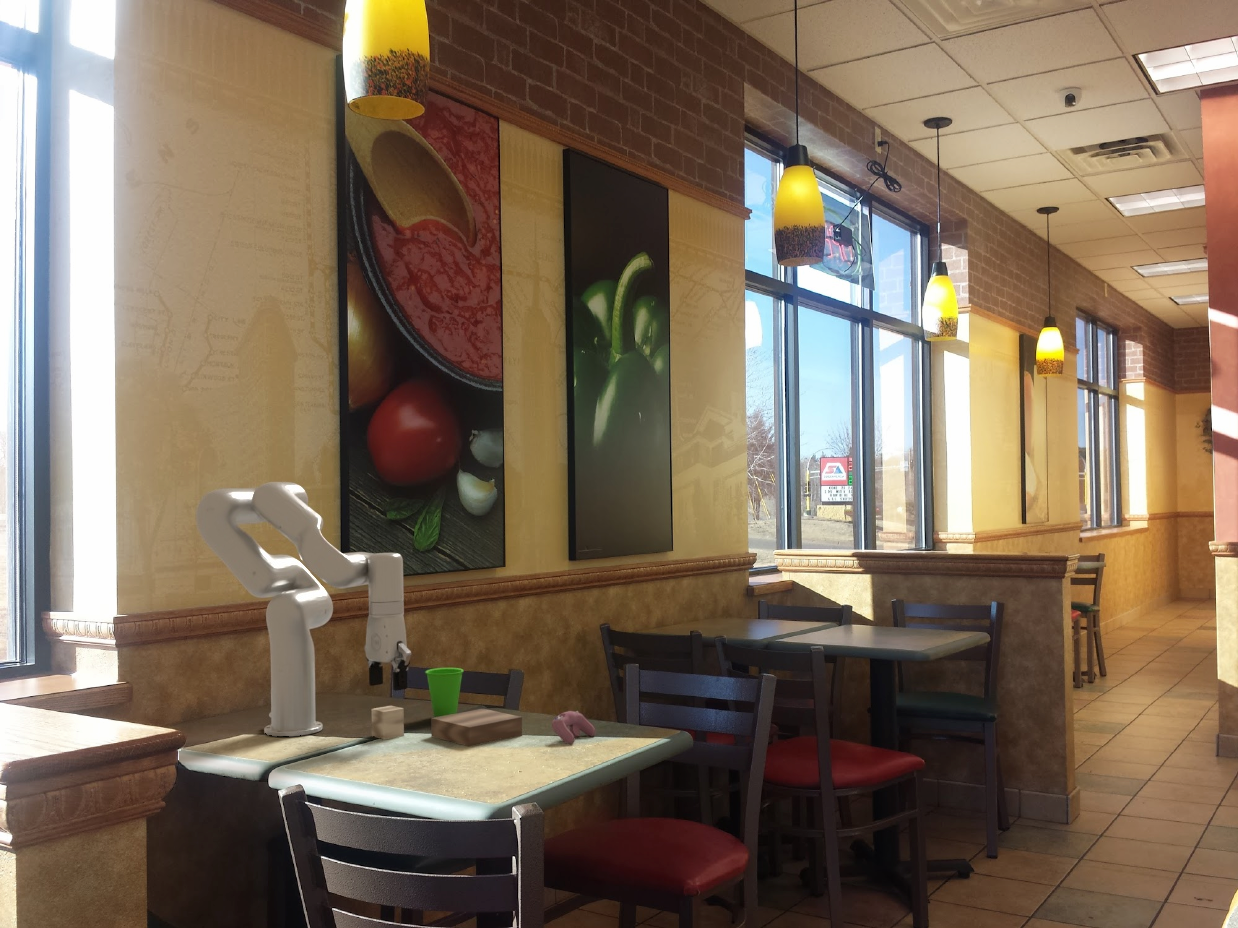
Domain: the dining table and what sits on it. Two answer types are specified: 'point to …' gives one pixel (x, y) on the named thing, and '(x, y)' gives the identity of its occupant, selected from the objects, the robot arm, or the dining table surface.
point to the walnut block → (476, 727)
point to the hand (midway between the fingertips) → (388, 687)
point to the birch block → (387, 722)
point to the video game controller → (571, 726)
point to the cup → (444, 690)
